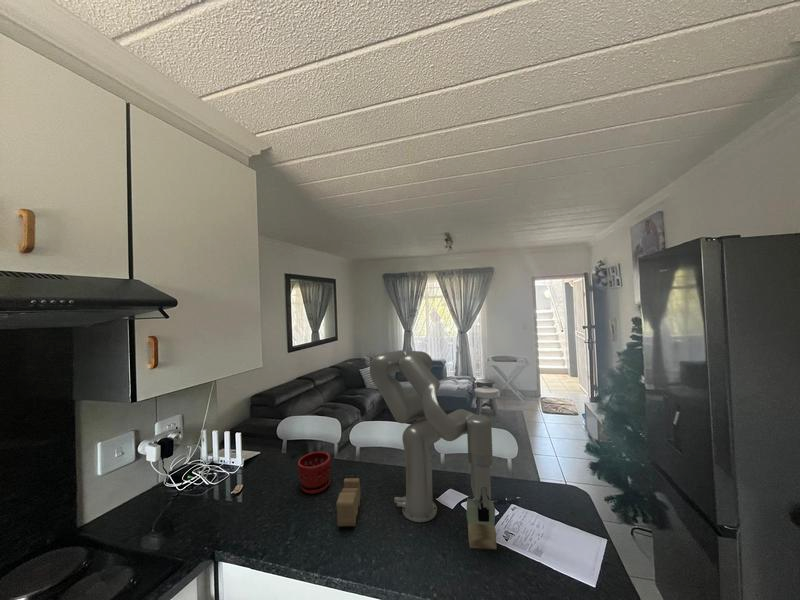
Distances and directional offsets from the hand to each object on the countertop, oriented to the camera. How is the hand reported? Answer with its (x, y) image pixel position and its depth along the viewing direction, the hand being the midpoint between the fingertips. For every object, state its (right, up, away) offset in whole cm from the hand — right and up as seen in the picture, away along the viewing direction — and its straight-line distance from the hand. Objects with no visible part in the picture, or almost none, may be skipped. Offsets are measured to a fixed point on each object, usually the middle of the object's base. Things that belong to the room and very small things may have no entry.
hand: (482, 515), depth 96 cm
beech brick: (0, -9, 0) cm, 9 cm away
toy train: (-44, -10, +14) cm, 47 cm away
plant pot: (-61, -11, +32) cm, 70 cm away
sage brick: (-1, -1, 0) cm, 2 cm away
